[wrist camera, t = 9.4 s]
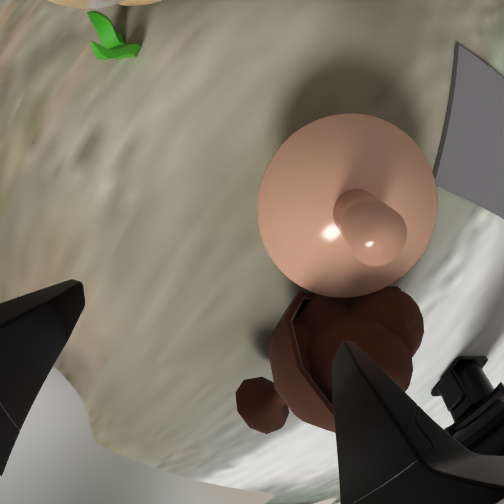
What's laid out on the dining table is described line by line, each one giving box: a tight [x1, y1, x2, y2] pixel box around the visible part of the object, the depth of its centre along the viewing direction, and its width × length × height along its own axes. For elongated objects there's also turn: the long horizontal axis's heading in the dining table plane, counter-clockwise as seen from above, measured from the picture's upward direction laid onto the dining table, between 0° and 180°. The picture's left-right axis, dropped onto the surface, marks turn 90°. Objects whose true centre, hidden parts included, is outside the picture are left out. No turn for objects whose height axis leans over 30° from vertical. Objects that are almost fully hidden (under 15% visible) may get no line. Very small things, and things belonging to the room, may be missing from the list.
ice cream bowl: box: [236, 286, 424, 434], centre depth 19 cm, size 11×11×15 cm
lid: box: [258, 113, 438, 298], centre depth 13 cm, size 10×10×4 cm
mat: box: [433, 45, 504, 219], centre depth 15 cm, size 12×12×1 cm
